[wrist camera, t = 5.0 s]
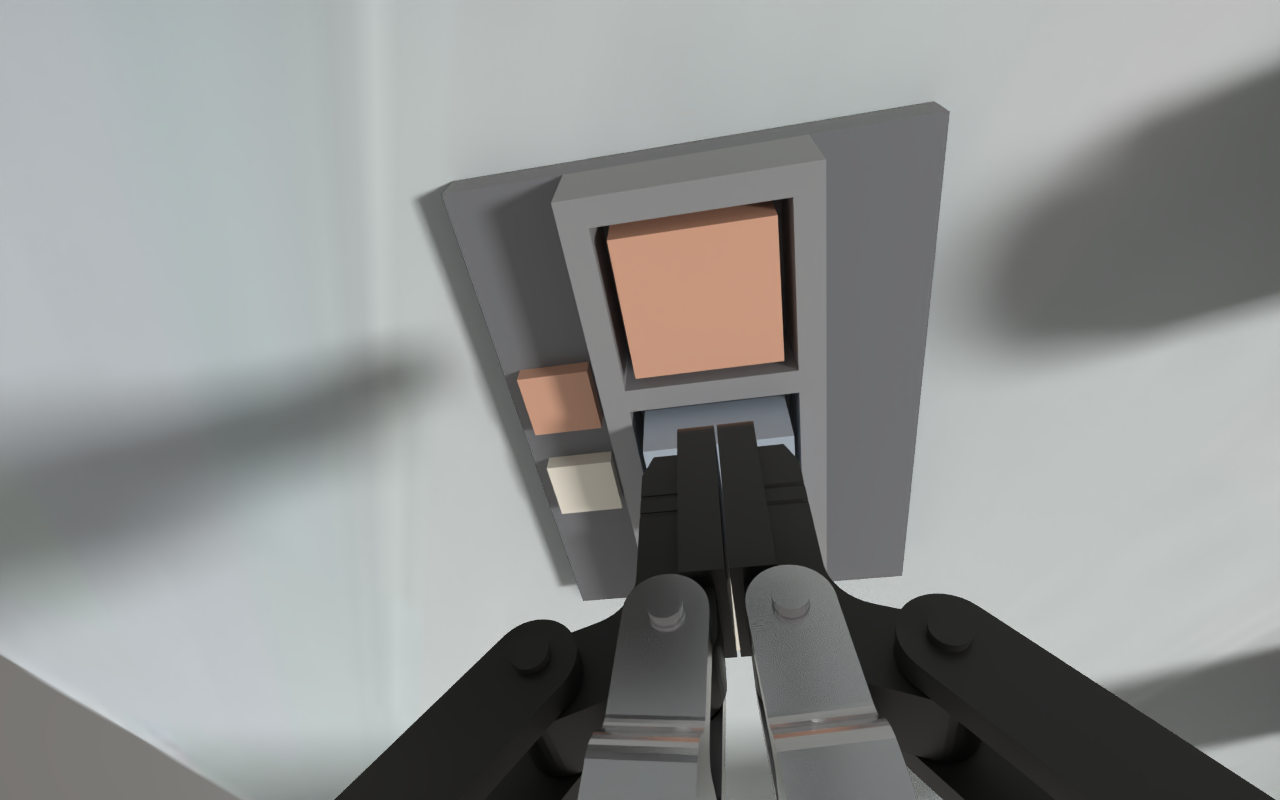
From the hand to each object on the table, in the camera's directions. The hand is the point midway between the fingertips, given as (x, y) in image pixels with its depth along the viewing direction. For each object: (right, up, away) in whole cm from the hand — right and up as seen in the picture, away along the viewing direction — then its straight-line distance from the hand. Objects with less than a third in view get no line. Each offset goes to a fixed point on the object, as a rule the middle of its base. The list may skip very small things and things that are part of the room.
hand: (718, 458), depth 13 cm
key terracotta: (0, +5, +7) cm, 8 cm away
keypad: (+1, +1, +11) cm, 11 cm away
